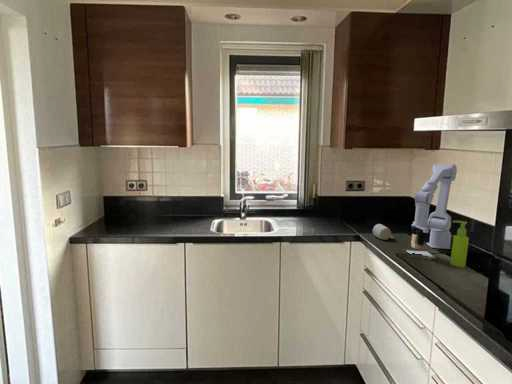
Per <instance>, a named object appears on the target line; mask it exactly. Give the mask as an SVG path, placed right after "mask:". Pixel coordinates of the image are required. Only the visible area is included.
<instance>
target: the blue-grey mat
mask: <svg viewBox="0 0 512 384" xmlns="http://www.w3.org/2000/svg"><path fill="white" fill-rule="evenodd" d="M405 250H406V251H407V252H408V253H410V254H412V253H415V254H422V255H423V256H428V257H430V258H431V257H435V256H434V255H432V254H431V253H430V252H428V251H424V250H423V251H421V250H409V249H408V250H407V249H405Z"/></svg>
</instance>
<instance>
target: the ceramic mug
mask: <svg viewBox="0 0 512 384" xmlns="http://www.w3.org/2000/svg"><path fill="white" fill-rule="evenodd" d="M372 234H373V236H375V237H376V238H378V239H380V240H383V241H387V240H389V239H392V240H393V239H394V238H395V237H394V236H393V235H392V231H391V229H390V228H389V227H387V226H385V225H384V224H381V223H377V224H375V225H374V226H373V228H372Z"/></svg>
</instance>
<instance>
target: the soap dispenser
mask: <svg viewBox="0 0 512 384" xmlns="http://www.w3.org/2000/svg"><path fill="white" fill-rule="evenodd" d="M452 223H457V224H459V223H460V226H459V228H457V232H456V234H455V235H453V237H452V238H453V239H452V245H451V254H450V265H451V266H454V267H456V266H457V268H465V267H466V263H467V256H468V249H469V240H470V237H468V236H467V229H466V227H465V226H466V225H467V224H468V222H467V221H464V220H452Z"/></svg>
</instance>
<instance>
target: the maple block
mask: <svg viewBox="0 0 512 384" xmlns="http://www.w3.org/2000/svg"><path fill="white" fill-rule="evenodd" d="M425 244H426V241H425V242H424V244H423V246H422V245H418V236H417V234H413V233H412V234H411V243H410V246H411V248H413V249H416V250H417V249H418V250H425Z"/></svg>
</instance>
